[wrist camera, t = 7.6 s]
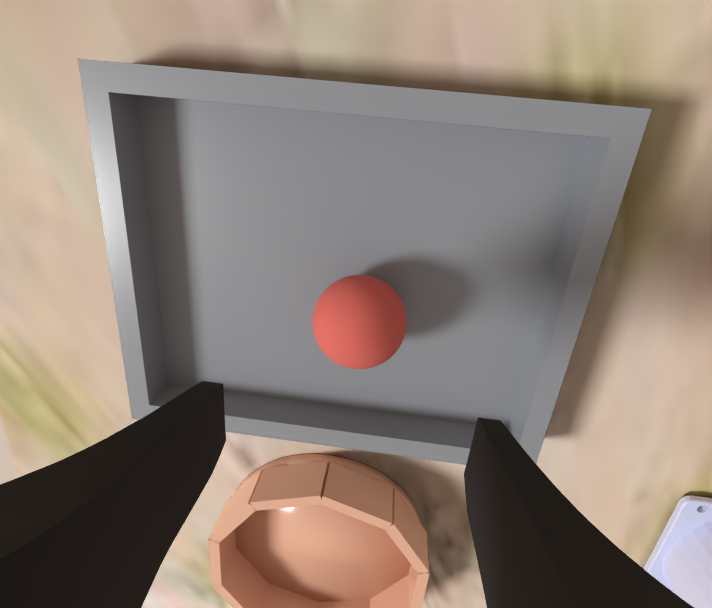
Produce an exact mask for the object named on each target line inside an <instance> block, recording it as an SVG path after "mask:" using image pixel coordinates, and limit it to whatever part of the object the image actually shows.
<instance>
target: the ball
mask: <svg viewBox="0 0 712 608" xmlns="http://www.w3.org/2000/svg"><path fill="white" fill-rule="evenodd" d="M312 321H313V332H314V336H315V339H316V341H317V343H318V345H319V347H320V349H321V350H322V351H323V352H324V354H325V355H326V356H327V357H328V358H330V359H331V360H332V361H333V362H335V363H337V364H339V365H341V366H343V367H347V368H351V369H369V368H373V367H376V366H378V365H380V364H382V363H384V362H386V361H387V360H388V359H390V358H391V357H392V356H393V355H394V354H395V353H396V352H397V350H398V349H399V347H400V346H401V344H402V342H403V339H404V337H405V333H406V327H407V316H406V311H405V307H404V305H403V302H402V300H401V299H400V297H399V295H398V294H397V293H396V291H395V290H394V289H393V288H392V287H391V286H389V285H388V284H387V283H385V282H384V281H382V280H380V279H378V278H375V277H372V276H367V275H352V276H347V277H344V278H341V279H339V280H337V281H336V282H334V283H332V284H331V285H330V286H329V287H327V288H326V289H325V291H324V292H323V293H322V294H321V296H320V297H319V299H318V301H317V303H316V305H315V309H314V312H313V318H312Z"/></svg>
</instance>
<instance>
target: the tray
mask: <svg viewBox="0 0 712 608" xmlns="http://www.w3.org/2000/svg"><path fill="white" fill-rule="evenodd" d="M78 64H79V71H80V77H81V84H82V91H83V97H84V104H85V110H86V117H87V124H88V130H89V137H90V143H91V150H92V157H93V163H94V170H95V176H96V183H97V190H98V196H99V203H100V209H101V216H102V223H103V229H104V236H105V242H106V249H107V256H108V262H109V269H110V275H111V282H112V289H113V295H114V302H115V308H116V315H117V322H118V328H119V335H120V342H121V348H122V355H123V361H124V368H125V375H126V381H127V388H128V394H129V401H130V408H131V414H132V419H138V420H140V419H142V418H143V417H145V416H147V415H148V414H150V413H151V412H153V411H155V410H156V409H158V408H159V407H161V406H163V405H164V404H166V403H168V402H169V401H171V400H172V399H174V398H175V397H177V396H179V395H180V394H182V393H183V392H185V391H187V390H188V389H190V388H191V387H193V386H195V385H196V384H198V383H200V382H202V381H208V382H215V383H223V388H224V410H225V432H232V433H240V434H247V435H254V436H261V437H269V438H276V439H283V440H290V441H298V442H305V443H312V444H319V445H327V446H334V447H341V448H348V449H356V450H363V451H370V452H377V453H385V454H392V455H399V456H406V457H414V458H421V459H428V460H435V461H443V462H450V463H457V464H464V465H466V464H467V460H468V456H469V452H470V448H471V444H472V440H473V436H474V431H475V427H476V423H477V419H478V417H480V418H487V419H495V420H501V422H502V423H503V424H504V425H505V426H506V428H507V429H508V430H509V431H510V433H511V434H512V435H513V436H514V438H515V439H516V440H517V442H518V443H519V444H520V445H521V446H522V448H523V449H524V450H525V451H526V453H527V454H528V455H529V456H530V458H531V459H532V460H533V461H534V462H535V464H536V462H537V459H538V456H539V453H540V450H541V446H542V443H543V440H544V437H545V434H546V431H547V428H548V425H549V422H550V419H551V416H552V413H553V410H554V407H555V404H556V401H557V398H558V394H559V391H560V388H561V385H562V382H563V379H564V376H565V373H566V370H567V367H568V364H569V361H570V358H571V355H572V352H573V349H574V346H575V342H576V339H577V336H578V333H579V330H580V327H581V324H582V321H583V318H584V315H585V312H586V309H587V306H588V303H589V300H590V297H591V294H592V290H593V287H594V284H595V281H596V278H597V275H598V272H599V269H600V266H601V263H602V260H603V257H604V254H605V251H606V248H607V245H608V242H609V238H610V235H611V232H612V229H613V226H614V223H615V220H616V217H617V214H618V211H619V208H620V205H621V202H622V199H623V196H624V193H625V190H626V186H627V183H628V180H629V177H630V174H631V171H632V168H633V165H634V162H635V159H636V156H637V153H638V150H639V147H640V144H641V141H642V138H643V134H644V131H645V128H646V125H647V122H648V119H649V116H650V113H651V110H652V109H647V108H635V107H624V106H612V105H601V104H589V103H578V102H566V101H555V100H544V99H532V98H521V97H509V96H498V95H486V94H475V93H464V92H452V91H441V90H429V89H418V88H406V87H395V86H383V85H372V84H361V83H349V82H338V81H326V80H315V79H303V78H292V77H281V76H269V75H258V74H246V73H235V72H223V71H212V70H201V69H189V68H178V67H166V66H155V65H143V64H132V63H120V62H109V61H98V60H86V59H78ZM352 275H367V276H372V277H375V278H378V279H380V280H382V281H384V282H385V283H387V284H388V285H389V286H391V287H392V288H393V289H394V290H395V291H396V293H397V294H398V295H399V297H400V299H401V300H402V302H403V305H404V307H405V311H406V316H407V327H406V333H405V337H404V339H403V342H402V344H401V346H400V347H399V349H398V350H397V352H396V353H395V354H394V355H393V356H392V357H391V358H390V359H388V360H387V361H386V362H384V363H382V364H380V365H378V366H376V367H373V368H369V369H351V368H347V367H343V366H341V365H339V364H337V363H335V362H333V361H332V360H331V359H330V358H328V357H327V356H326V355H325V354H324V352H323V351H322V350H321V349H320V347H319V345H318V343H317V341H316V339H315V336H314V332H313V321H312V318H313V312H314V309H315V305H316V303H317V301H318V299H319V297H320V296H321V294H322V293H323V292H324V291H325V289H326V288H327V287H329V286H330V285H331V284H332V283H334V282H336V281H337V280H339V279H341V278H344V277H347V276H352Z"/></svg>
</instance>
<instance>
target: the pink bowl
mask: <svg viewBox="0 0 712 608" xmlns="http://www.w3.org/2000/svg"><path fill="white" fill-rule="evenodd" d="M208 542H209V555H210V568H211V582H212V585H213V588H214V589H215V590H216V591H217V592H218V593H219V594H220V595H221V596H222V597H223V598H224V599H225V600H226V601H227V602H228V603H229V604H230V605H231V606H232V607H233V608H422V604H423V600H424V595H425V591H426V587H427V582H428V578H429V558H428V541H427V532H426V531H425V530H424V528H423V527H422V523H421V519H420V516H419V514H418V511H417V509H416V507H415V505H414V504H413V502H412V501H411V499H410V498H409V496H408V495H407V494H406V493H405V492H404V491H403V489H402V488H400V487H399V486H398V485H397V484H396V483H395V482H394V481H393V480H391V479H390V478H388V477H387V476H385V475H384V474H383V473H381V472H379V471H377V470H375V469H374V468H372V467H370V466H367V465H365V464H362V463H360V462H357V461H354V460H351V459H347V458H344V457H339V456H333V455H325V454H300V455H293V456H288V457H284V458H279V459H277V460H274V461H271V462H269V463H267V464H265V465H263V466H261V467H259V468H257V469H256V470H255V471H253V472H252V473H251V474H249V475H248V476H247V478H246V479H245V480H244V481H243V482H242V483H241V485H240V486H239V487H238V489H237V491H236V493H235V494H234V495H233V496H232V497H231V498H230V499H229V500H228V501H227V502H226V503H225V505H224V507H223V509H222V512H221V514H220V516H219V518H218V520H217V522H216V524H215V527H214V529H213V531H212V533H211V535H210V537H209V540H208Z"/></svg>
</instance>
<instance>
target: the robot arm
mask: <svg viewBox="0 0 712 608" xmlns="http://www.w3.org/2000/svg"><path fill="white" fill-rule="evenodd" d="M225 441H226V432H225V410H224V388H223V383H215V382H208V381H202V382H200V383H198V384H196V385H195V386H193V387H191V388H190V389H188V390H187V391H185V392H183V393H182V394H180V395H179V396H177V397H175V398H174V399H172V400H171V401H169V402H168V403H166V404H164V405H163V406H161V407H159V408H158V409H156V410H155V411H153V412H151V413H150V414H148V415H147V416H145V417H143V418H142V419H140V420H138V421H136V422H135V423H133V424H131V425H129V426H127V427H126V428H124V429H122V430H120V431H119V432H117V433H115V434H113V435H111V436H110V437H108V438H106V439H104V440H102V441H100V442H98V443H96V444H94V445H92V446H90V447H88V448H86V449H84V450H82V451H80V452H78V453H76V454H74V455H72V456H69V457H67V458H65V459H63V460H61V461H58V462H56V463H54V464H51V465H49V466H46V467H44V468H41V469H39V470H36V471H34V472H31V473H29V474H27V475H24V476H22V477H19V478H17V479H14V480H12V481H9V482H6V483H3V484H1V485H0V608H141V607H142V604H143V602H144V600H145V598H146V596H147V594H148V591H149V589H150V587H151V585H152V583H153V580H154V578H155V576H156V574H157V572H158V570H159V567H160V565H161V563H162V561H163V559H164V557H165V556H166V554H167V552H168V550H169V548H170V546H171V544H172V543H173V541H174V539H175V537H176V536H177V534H178V532H179V530H180V529H181V527H182V525H183V524H184V522H185V520H186V518H187V517H188V515H189V513H190V511H191V510H192V508H193V506H194V505H195V503H196V501H197V499H198V498H199V496H200V494H201V492H202V491H203V489H204V487H205V485H206V484H207V482H208V480H209V478H210V476H211V475H212V473H213V470H214V468H215V466H216V463H217V461H218V459H219V456H220V454H221V451H222V449H223V446H224V444H225ZM464 479H465V492H466V503H467V512H468V517H469V522H470V527H471V531H472V536H473V541H474V546H475V551H476V555H477V560H478V565H479V570H480V574H481V579H482V584H483V589H484V593H485V599H486V605H487V608H712V498H706V497H699V496H684V497H683V498H681V499H680V500H679V502H678V504H677V506H676V508H675V510H674V512H673V513H672V515H671V517H670V519H669V521H668V523H667V525H666V527H665V529H664V531H663V533H662V535H661V536H660V538H659V540H658V542H657V544H656V546H655V548H654V550H653V552H652V554H651V556H650V557H649V559H648V561H647V563H646V565H645V567H644V569H643V568H642V567H640V566H639V565H638V564H637V563H636V562H634V561H633V560H632V559H631V558H629V557H628V556H627V555H626V554H625V553H624V552H622V551H621V550H620V549H619V548H618V547H617V546H615V545H614V544H613V543H612V542H611V541H610V540H609V539H608V538H607V537H606V536H605V535H603V534H602V533H601V532H600V531H599V530H598V529H597V528H596V527H595V526H594V525H593V524H592V523H590V522H589V521H588V520H587V519H586V518H585V517H584V516H583V515H582V514H581V513H580V512H579V511H578V510H577V509H576V508H575V507H574V506H573V505H572V504H571V502H570V501H569V500H568V499H567V498H566V497H565V496H564V495H563V494H562V493H561V492H560V491H559V490H558V489H557V488H556V487H555V485H554V484H553V483H552V482H551V481H550V480H549V479H548V478H547V476H546V475H545V474H544V473H543V472H542V471H541V469H540V468H539V467H538V466H537V465H536V464H535V462H534V461H533V460H532V459H531V458H530V456H529V455H528V454H527V453H526V451H525V450H524V449H523V448H522V446H521V445H520V444H519V443H518V442H517V440H516V439H515V438H514V436H513V435H512V434H511V433H510V431H509V430H508V429H507V428H506V426H505V425H504V424H503V423H502V422H501V420H495V419H487V418H480V417H478V419H477V423H476V427H475V431H474V436H473V440H472V444H471V448H470V452H469V456H468V460H467V464H466V468H465V473H464Z"/></svg>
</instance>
